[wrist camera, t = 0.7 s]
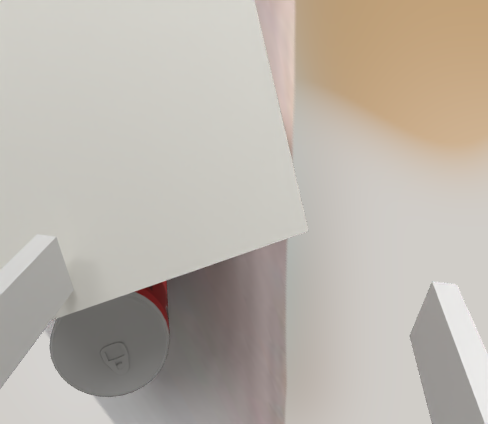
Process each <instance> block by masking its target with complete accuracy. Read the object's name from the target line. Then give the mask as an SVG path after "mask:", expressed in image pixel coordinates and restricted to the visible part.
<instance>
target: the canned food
mask: <svg viewBox="0 0 488 424" xmlns="http://www.w3.org/2000/svg"><path fill="white" fill-rule="evenodd" d="M168 346H169V318H168V299H167V281H164V282H161V283H158V284H155V285H152V286H149V287H146V288H143V289H140V290H138V291H135V292H132V293H129V294H126V295H123V296H120V297H117V298H114V299H112V300H109V301H106V302H103V303H100V304H97V305H94V306H91V307H88V308H86V309H83V310H80V311H77V312H74V313H71V314H68V315H65V316H62V317H60V318H57V319H56V321H55V324H54V327H53V330H52V334H51V337H50V353H51V359H52V361H53V363H54V366H55V368H56V370H57V371H58V373H59V374H60V376H61V377H62V378H63V379H64V380H65V381H66V382H67V383H68V384H70V385H71V386H73V387H74V388H76V389H78V390H80V391H82V392H84V393H87V394H91V395H95V396H102V397H113V396H121V395H125V394H128V393H131V392H134V391H136V390H138V389H140V388H142V387H143V386H145V385H146V384H147V383H149V382H150V381H151V380H152V379H153V378H154V377H155V376H156V375H157V374H158V373H159V371H160V369H161V368H162V366H163V365H164V362H165V359H166V357H167V353H168Z"/></svg>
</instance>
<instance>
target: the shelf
mask: <svg viewBox="0 0 488 424" xmlns="http://www.w3.org/2000/svg"><path fill="white" fill-rule="evenodd" d="M308 231H309V230H308V225H307V221H306V217H305V213H304V209H303V204H302V200H301V196H300V192H299V187H298V183H297V179H296V175H295V170H294V166H293V162H292V158H291V153H290V149H289V145H288V141H287V136H286V132H285V128H284V124H283V119H282V115H281V111H280V107H279V103H278V98H277V94H276V90H275V86H274V81H273V77H272V73H271V69H270V64H269V60H268V56H267V52H266V47H265V43H264V39H263V35H262V30H261V26H260V22H259V18H258V13H257V9H256V5H255V1H254V0H0V270H1V269H2V268H3V267H4V266H5V265H6V264H7V263H8V262H9V261H10V260H11V259H12V258H13V257H14V256H15V255H16V254H17V253H18V252H19V251H21V250H22V249H23V248H24V247H25V246H26V245H27V244H28V243H29V242H30V241H31V240H32V239H33V238H34V237H35V236H36V235H37V234H39V235H47V236H55V237H57V240H58V243H59V246H60V249H61V252H62V255H63V258H64V261H65V264H66V267H67V270H68V273H69V276H70V279H71V283H72V286H73V289H74V291H73V292H72V293H71V295H70V296H69V297H68V299H67V300H66V301H65V303H64V304H63V305H62V307H61V308H60V309H59V311H58V312H57V313H56V315H55V316H54V317H53V319H52V320H54V319H57V318H60V317H62V316H65V315H68V314H71V313H74V312H77V311H80V310H83V309H86V308H88V307H91V306H94V305H97V304H100V303H103V302H106V301H109V300H112V299H114V298H117V297H120V296H123V295H126V294H129V293H132V292H135V291H138V290H140V289H143V288H146V287H149V286H152V285H155V284H158V283H161V282H164V281H166V280H169V279H172V278H175V277H178V276H181V275H184V274H187V273H190V272H192V271H195V270H198V269H201V268H204V267H207V266H210V265H213V264H216V263H218V262H221V261H224V260H227V259H230V258H233V257H236V256H239V255H242V254H245V253H247V252H250V251H253V250H256V249H259V248H262V247H265V246H268V245H271V244H273V243H276V242H279V241H282V240H285V239H288V238H291V237H294V236H296V235H299V234H302V233H305V232H308Z"/></svg>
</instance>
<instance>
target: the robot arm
mask: <svg viewBox="0 0 488 424" xmlns="http://www.w3.org/2000/svg"><path fill="white" fill-rule="evenodd" d="M73 291H74V289H73V286H72V283H71V279H70V276H69V273H68V270H67V267H66V264H65V261H64V258H63V255H62V252H61V249H60V246H59V243H58V240H57V237H55V236H47V235H39V234H37V235H36V236H35V237H34V238H33V239H32V240H31V241H30V242H29V243H28V244H27V245H26V246H25V247H24V248H23V249H22V250H21V251H19V252H18V253H17V254H16V255H15V256H14V257H13V258H12V259H11V260H10V261H9V262H8V263H7V264H6V265H5V266H4V267H3V268H2V269H1V270H0V388H1V387H2V386H3V384H4V383H5V382H6V381H7V379H8V378H9V376H10V375H11V374H12V372H13V371H14V370H15V368H16V367H17V366H18V364H19V363H20V362H21V360H22V359H23V358H24V356H25V355H26V354H27V352H28V351H29V350H30V348H31V347H32V346H33V344H34V343H35V342H36V340H37V339H38V338H39V336H40V335H41V334H42V332H43V331H44V330H45V328H46V327H47V326H48V324H49V323H50V321H51V320H52V319H53V317H54V316H55V315H56V313H57V312H58V311H59V309H60V308H61V307H62V305H63V304H64V303H65V301H66V300H67V299H68V297H69V296H70V295H71V293H72V292H73ZM410 339H411V343H412V347H413V351H414V355H415V359H416V363H417V367H418V371H419V375H420V378H421V383H422V386H423V390H424V394H425V398H426V402H427V406H428V410H429V414H430V418H431V421H432V424H488V353H487V351H486V349H485V346H484V344H483V342H482V340H481V338H480V335H479V333H478V331H477V328H476V326H475V324H474V322H473V319H472V317H471V315H470V313H469V311H468V308H467V306H466V304H465V301H464V299H463V297H462V295H461V292H460V290H459V288H458V286H457V284H449V283H441V282H432V283H431V285H430V288H429V290H428V293H427V295H426V298H425V300H424V302H423V305H422V307H421V310H420V312H419V314H418V317H417V319H416V322H415V324H414V326H413V329H412V331H411V334H410Z"/></svg>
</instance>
